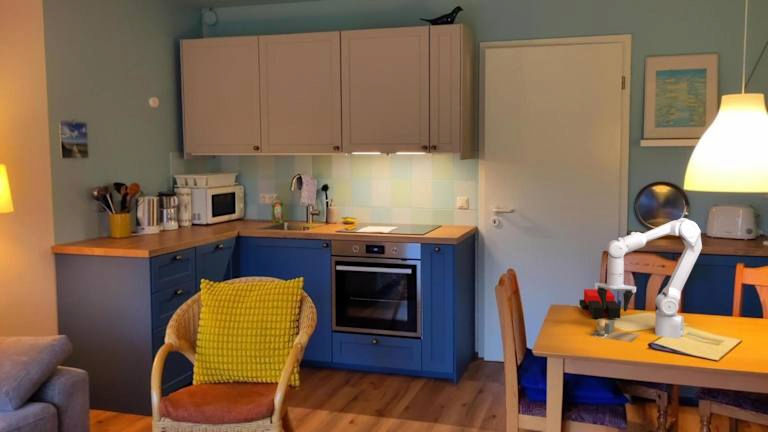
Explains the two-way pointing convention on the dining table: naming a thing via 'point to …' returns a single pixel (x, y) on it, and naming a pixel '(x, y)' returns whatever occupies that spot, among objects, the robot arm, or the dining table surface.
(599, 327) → the tan capsule cylinder
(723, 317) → the dining table surface
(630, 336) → the subfloor panel
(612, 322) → the block
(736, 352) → the dining table surface
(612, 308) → the red-and-black block model
